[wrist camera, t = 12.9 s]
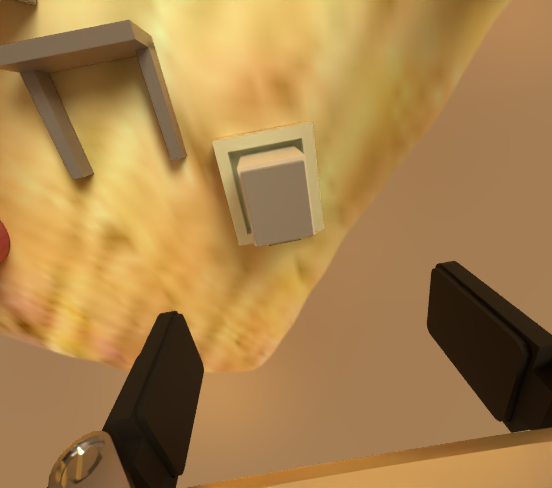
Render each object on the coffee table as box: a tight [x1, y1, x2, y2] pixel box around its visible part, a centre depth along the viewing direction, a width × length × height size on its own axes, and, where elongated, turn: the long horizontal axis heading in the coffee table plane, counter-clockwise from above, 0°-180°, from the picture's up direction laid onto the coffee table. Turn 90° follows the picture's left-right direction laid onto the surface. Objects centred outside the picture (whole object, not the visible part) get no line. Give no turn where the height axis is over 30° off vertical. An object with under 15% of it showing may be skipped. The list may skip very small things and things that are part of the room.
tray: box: [212, 121, 324, 246], centre depth 30 cm, size 10×11×3 cm
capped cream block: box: [237, 145, 315, 247], centre depth 27 cm, size 6×8×8 cm
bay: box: [0, 20, 187, 180], centre depth 26 cm, size 11×11×5 cm
